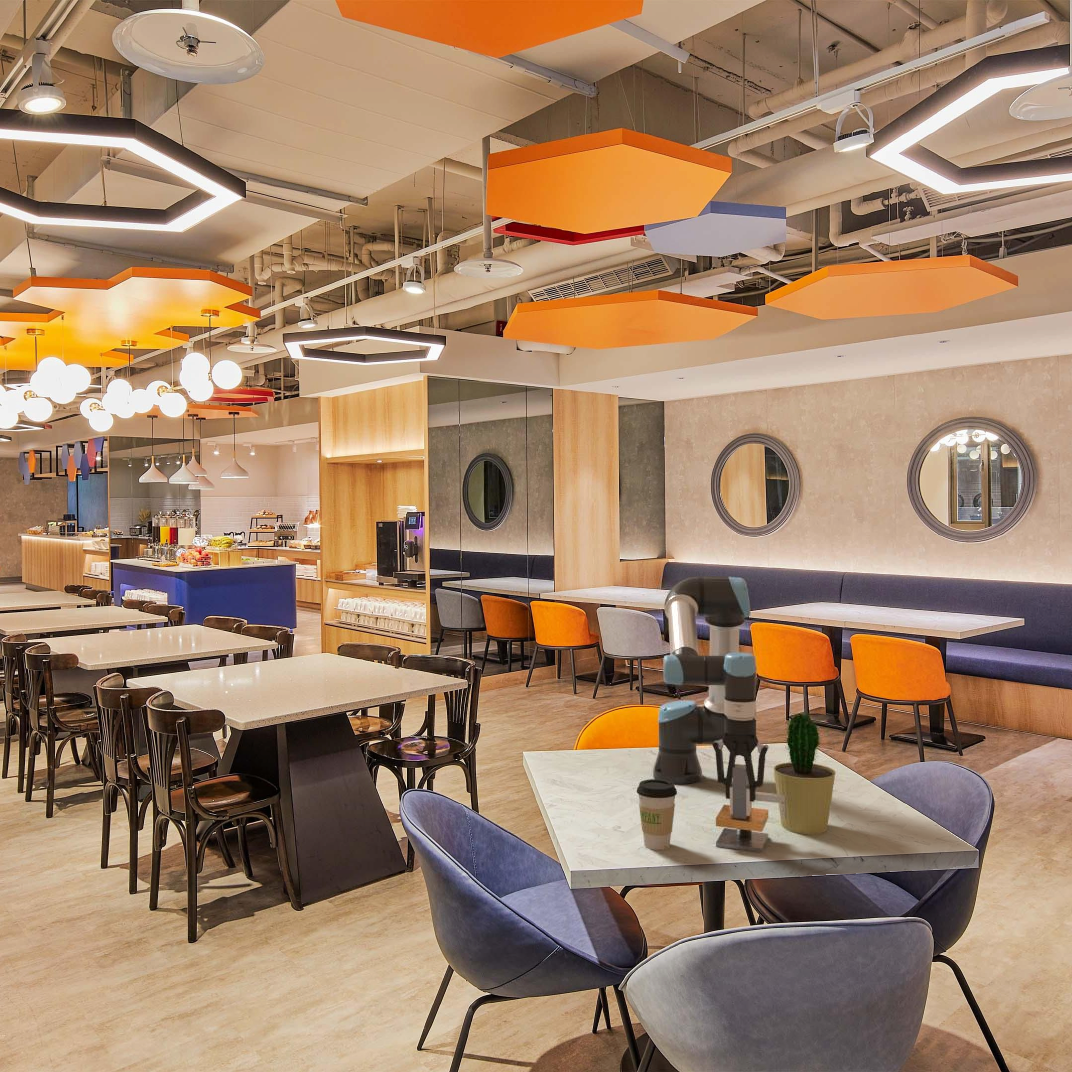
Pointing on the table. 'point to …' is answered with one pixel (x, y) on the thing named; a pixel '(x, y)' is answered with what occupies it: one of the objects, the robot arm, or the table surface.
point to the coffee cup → (656, 812)
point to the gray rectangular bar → (739, 792)
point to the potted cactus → (804, 780)
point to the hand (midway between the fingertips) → (740, 812)
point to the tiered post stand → (747, 825)
